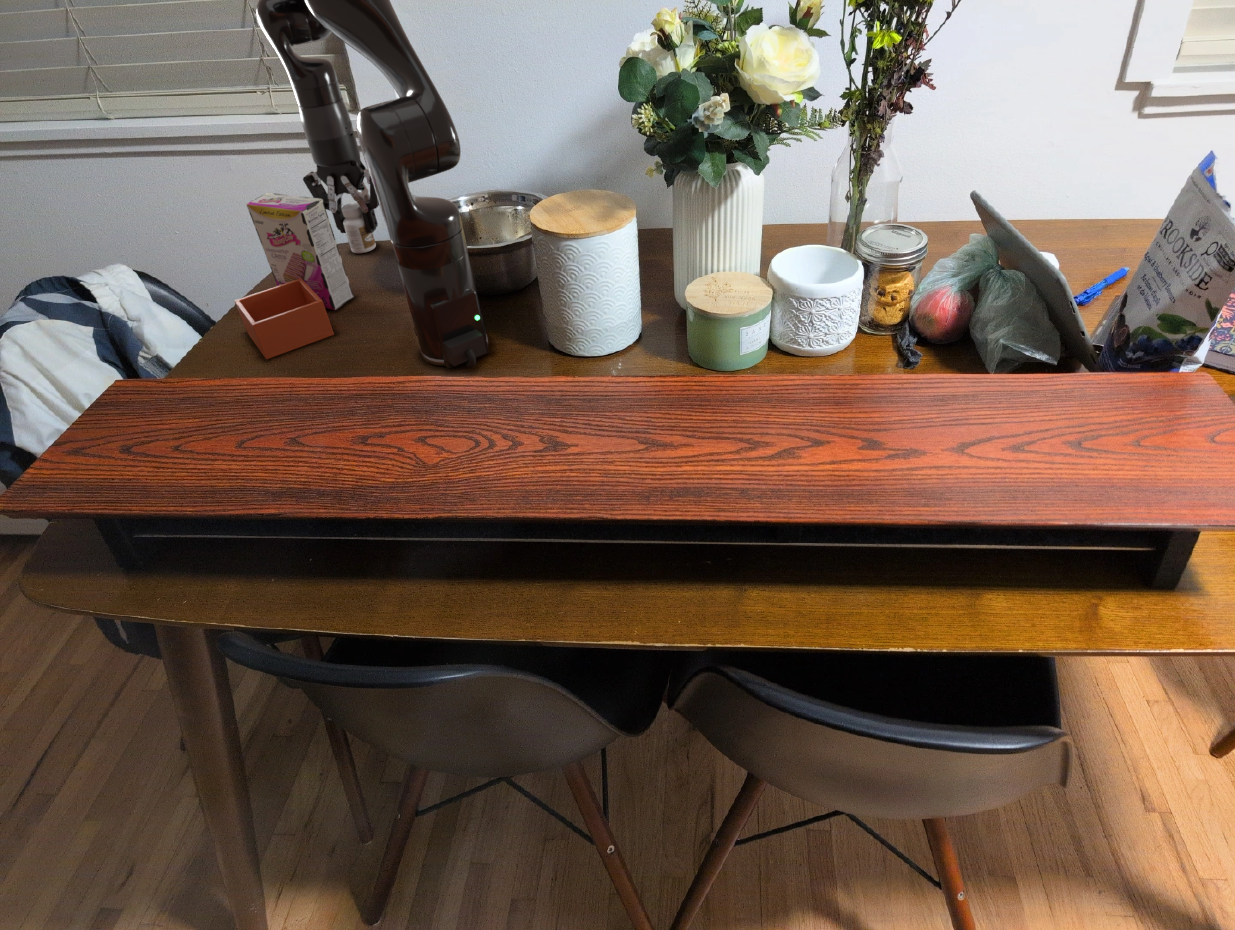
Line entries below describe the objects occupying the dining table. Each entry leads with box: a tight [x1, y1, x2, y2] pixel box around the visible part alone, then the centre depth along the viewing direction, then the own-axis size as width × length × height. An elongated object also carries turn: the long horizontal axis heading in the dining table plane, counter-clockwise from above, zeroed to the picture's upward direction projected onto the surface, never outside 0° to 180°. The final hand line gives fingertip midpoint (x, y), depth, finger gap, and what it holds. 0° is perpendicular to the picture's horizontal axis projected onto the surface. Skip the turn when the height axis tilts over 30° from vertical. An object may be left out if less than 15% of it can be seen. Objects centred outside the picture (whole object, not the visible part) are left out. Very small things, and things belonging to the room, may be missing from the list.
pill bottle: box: [341, 202, 377, 254], centre depth 147 cm, size 4×4×8 cm
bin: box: [233, 278, 335, 360], centre depth 125 cm, size 10×10×6 cm
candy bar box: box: [245, 192, 354, 311], centre depth 130 cm, size 11×5×16 cm, turn 65°
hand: (358, 230), depth 148 cm, fingers closed on pill bottle, 4 cm apart
